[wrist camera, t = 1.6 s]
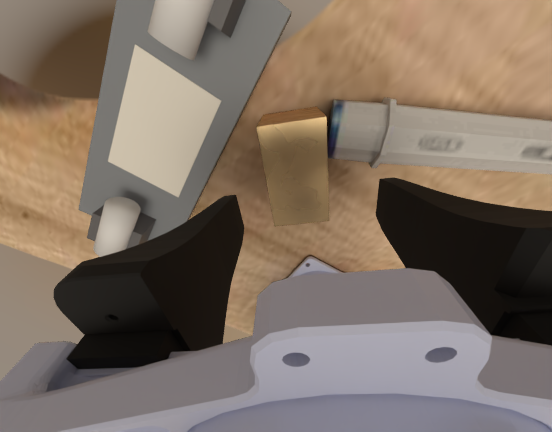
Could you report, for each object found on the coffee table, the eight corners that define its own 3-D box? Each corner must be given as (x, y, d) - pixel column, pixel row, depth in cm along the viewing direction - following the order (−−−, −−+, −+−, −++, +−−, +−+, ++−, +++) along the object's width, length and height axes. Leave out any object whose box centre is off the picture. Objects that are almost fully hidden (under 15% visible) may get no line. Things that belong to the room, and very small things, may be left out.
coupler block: (320, 190, 21) (329, 220, 16) (276, 195, 21) (274, 226, 17) (316, 106, 17) (326, 116, 13) (263, 114, 17) (256, 127, 13)
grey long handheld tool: (338, 88, 13) (915, 126, 10) (333, 85, 19) (701, 109, 16) (323, 174, 16) (772, 225, 13) (323, 149, 21) (634, 180, 18)
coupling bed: (175, 245, 24) (153, 278, 20) (86, 204, 22) (42, 232, 18) (291, 15, 14) (293, -9, 10) (148, -104, 12) (79, -195, 8)
